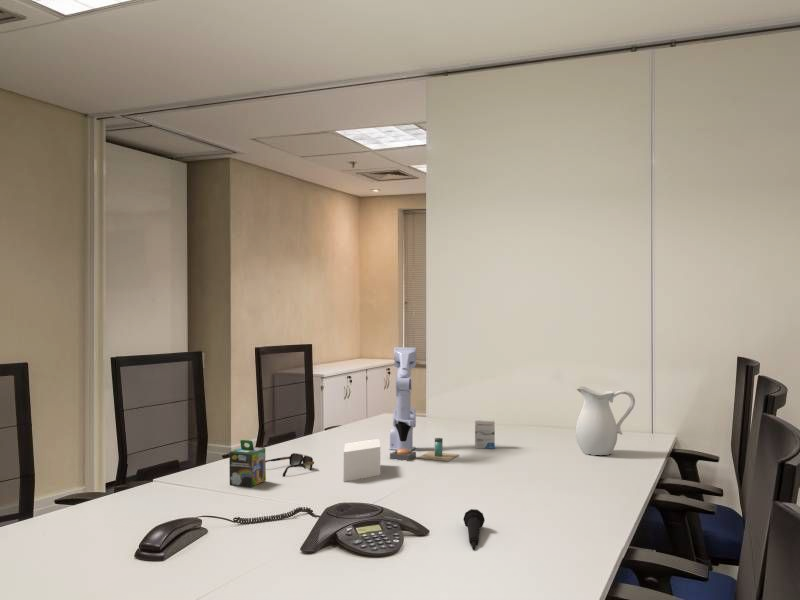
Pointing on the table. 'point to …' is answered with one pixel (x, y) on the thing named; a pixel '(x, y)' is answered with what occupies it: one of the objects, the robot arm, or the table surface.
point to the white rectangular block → (361, 459)
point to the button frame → (402, 456)
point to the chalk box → (247, 465)
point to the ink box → (484, 434)
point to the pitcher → (599, 421)
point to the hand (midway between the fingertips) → (403, 441)
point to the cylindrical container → (438, 446)
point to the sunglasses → (296, 461)
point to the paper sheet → (444, 456)
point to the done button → (403, 451)
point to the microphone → (473, 525)
